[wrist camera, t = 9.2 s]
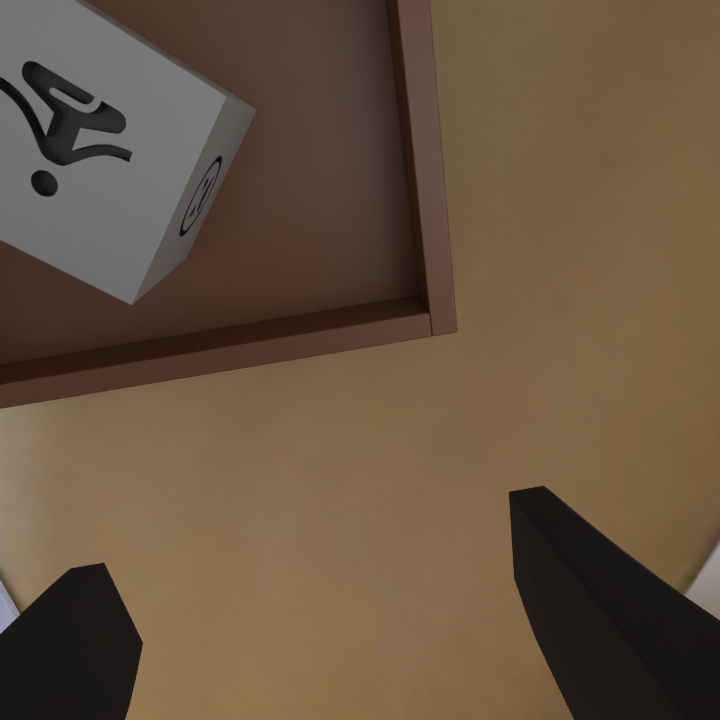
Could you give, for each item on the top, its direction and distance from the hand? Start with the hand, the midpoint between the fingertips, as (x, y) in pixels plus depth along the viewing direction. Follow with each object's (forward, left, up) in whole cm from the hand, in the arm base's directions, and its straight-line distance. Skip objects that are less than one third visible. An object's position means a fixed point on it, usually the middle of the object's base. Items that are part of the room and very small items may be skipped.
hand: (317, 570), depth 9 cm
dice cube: (-4, +8, -10) cm, 13 cm away
